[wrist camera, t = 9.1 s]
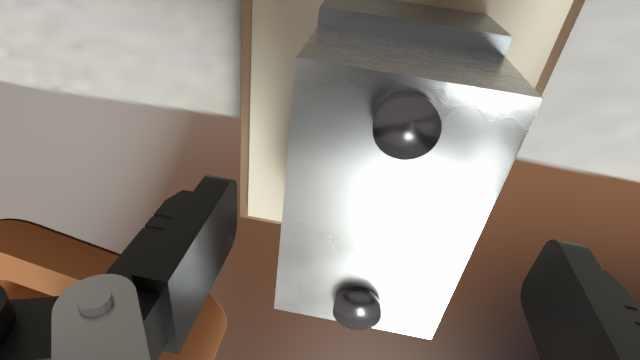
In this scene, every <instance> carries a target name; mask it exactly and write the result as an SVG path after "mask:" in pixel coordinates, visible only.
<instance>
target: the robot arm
mask: <svg viewBox="0 0 640 360" xmlns="http://www.w3.org/2000/svg"><path fill="white" fill-rule="evenodd" d="M236 185H237V184H236V181H235V180H232V179H226V178H221V177H216V176H210V175H206V176H205V177H204V178H203V179H202V180H201V182H200V183H199V184H198V186H197V187H196V188H195V190H194V191H193V192H191V191H186V190H182V191H180V192H179V193H177V194H175V195H174V196H172V197H170V198H169V199H167V200H165V202H164V203H163V204H162V205H161V206H160V208H159V209H158V210H157V211H156V212H155V214H154V217H151V219H150V220H149V221H148V222H147V223H146V225H145V228H142V230H141V231H140V232H139V233H138V234H137V236H136V237H135V238H134V239H133V240H132V242H131V243H130V244H129V245H128V246H127V248H126V249H125V250H124V251H123V253H122V254H121V255H120V256H119V257H118V259H117V260H116V261H115V262H114V263H113V265H112V266H111V267H110V268H109V269H108V271H107V272H106V273H105V274H100V275H95V276H91V277H88V278H85V279H83V280H80V281H78V282H77V283H75V284H73V285H72V286H70V287H69V288H67V289H66V290H65V291H64V292H63V293H62V294H61V295H60V296H54V297H41V298H27V299H13V300H10V299H9V297H8V295H7V293H6V291H5V290H4V288H3V287H2V286H1V285H0V360H158V359H159V357H160V356H161V354H162V352H163V351H164V352H169V353H174V354H178V355H179V353H180V351H181V348H182V346H183V344H184V342H185V340H186V338H187V336H188V334H189V332H190V330H191V328H192V326H193V324H194V322H195V320H196V318H197V316H198V314H199V312H200V310H201V308H202V306H203V304H204V302H205V300H206V298H207V296H208V294H209V292H210V290H211V288H212V286H213V284H214V282H215V280H216V278H217V276H218V274H219V272H220V270H221V268H222V266H223V264H224V262H225V260H226V258H227V256H228V254H229V252H230V250H231V248H232V245H233V243H234V239H235V235H236V230H237V186H236ZM521 305H522V308H523V311H524V314H525V317H526V320H527V323H528V326H529V329H530V332H531V335H532V337H533V341H534V343H535V346H536V349H537V352H538V355H539V358H540V360H640V312H638V307H637V305H636V304H635V302H634V301H633V299H632V298H631V296H630V295H629V293H628V291H627V290H626V288H624V287H623V286H622V285H621V284H620V283H619V282H618V281H617V280H616V279H615V278H614V277H613V276H612V275H610V274H609V273H608V272H607V271H606V270H602V269H601V267H600V265H599V264H598V262H597V260H596V259H595V257H594V255H593V254H592V252H591V251H590V249H589V248H588V247H587V246H585V245H579V244H574V243H569V242H563V241H557V240H550V241H548V242H547V243H546V244H545V246H544V247H543V249H542V250H541V252H540V254H539V256H538V257H537V259H536V261H535V262H534V264H533V266H532V267H531V269H530V271H529V273H528V274H527V276H526V278H525V279H524V282H523V284H522V287H521Z"/></svg>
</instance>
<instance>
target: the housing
mask: <svg viewBox="0 0 640 360" xmlns="http://www.w3.org/2000/svg"><path fill="white" fill-rule="evenodd" d="M511 39H512V36H511V35H510V34H509V33H508V32H507V31H505V30H504V29H503V28H502V27H501V26H500V25H499V24H498V23H496V22H495V21H494V20H493V19H492V18H491V17H490V16H488V15H487V14H481V13H475V12H468V11H462V10H455V9H449V8H443V7H436V6H430V5H423V4H417V3H411V2H404V1H398V0H324V1H323V3H322V4H321V5H320V8H319V16H318V25H317V27H316V29H315V30H314V32H313V33H312V35H311V36H310V38H309V39H308V41H307V42H306V44H305V45H304V47H303V48H302V49H301V51H300V52H299V54H298V55H297V57H296V65H295V77H294V88H293V99H292V111H291V122H290V134H289V145H288V156H287V168H286V179H285V190H284V202H283V213H282V226H281V237H280V247H279V259H278V270H277V282H276V293H275V304H274V309H279V310H284V311H290V312H295V313H299V314H305V315H309V316H314V317H319V318H325V319H330V320H335V321H337V322H339V323H340V324H341V325H343V326H345V327H347V328H351V329H357V330H360V329H361V330H362V329H368V328H375V329H380V330H385V331H390V332H395V333H401V334H406V335H410V336H415V337H420V338H425V339H430V340H431V339H432V337H433V335H434V333H435V330H436V328H437V326H438V324H439V322H440V319H441V317H442V315H443V313H444V311H445V309H446V307H447V304H448V302H449V300H450V298H451V296H452V294H453V292H454V289H455V287H456V285H457V283H458V281H459V279H460V276H461V274H462V272H463V270H464V268H465V266H466V263H467V261H468V259H469V257H470V255H471V253H472V250H473V248H474V246H475V244H476V242H477V240H478V238H479V235H480V233H481V231H482V229H483V227H484V225H485V222H486V220H487V218H488V216H489V214H490V212H491V209H492V207H493V205H494V203H495V201H496V199H497V196H498V194H499V192H500V190H501V188H502V186H503V184H504V181H505V179H506V177H507V175H508V173H509V171H510V168H511V166H512V164H513V162H514V160H515V158H516V156H517V153H518V151H519V149H520V147H521V145H522V143H523V141H524V138H525V136H526V134H527V132H528V130H529V128H530V125H531V123H532V121H533V119H534V117H535V115H536V112H537V110H538V108H539V106H540V104H541V102H542V100H543V98H542V96H541V95H540V94H539V93H538V92H537V91H536V90H535V89H534V88H533V87H532V85H531V84H530V83H529V82H528V81H527V80H526V79H525V78H524V77H523V76H522V74H521V73H520V72H519V71H518V70H517V69H516V68H515V67H514V66H513V64H512V63H511V62H510V61H509V60H508V59H507V58H506V57H505V55H506V53H507V50H508V47H509V45H510V42H511Z"/></svg>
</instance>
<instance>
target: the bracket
mask: <svg viewBox="0 0 640 360" xmlns="http://www.w3.org/2000/svg"><path fill="white" fill-rule="evenodd" d="M120 255H121V254H119V253H116V252H114V251H111V250H108V249H105V248H103V247H100V246H97V245H94V244H92V243H89V242H86V241H84V240H81V239H78V238H75V237H73V236H70V235H67V234H64V233H62V232H59V231H56V230H54V229H51V228H48V227H45V226H42V225H40V224H37V223H34V222H31V221H27V220H22V219H14V218H7V219H0V285H1V286H2V287H3V288H4V290H5V291H6V293H7V295H8V297H9V299H10V300H13V299H27V298H41V297H54V296H60V295H61V294H62V293H63V292H64V291H65V290H66V289H67V288H69V287H70V286H72V285H73V284H75V283H77V282H78V281H80V280H83V279H85V278H88V277H91V276H95V275H100V274H105V273H106V272H107V271H108V269H109V268H110V267H111V266H112V265H113V263H114V262H115V261H116V260H117V259H118V257H119V256H120ZM226 327H227V319H226V315H225V312H224V310H223V308H222V306H221V305H220V303H219V302H218V301H217V300H216V299H215V297H214V296H213V295H212V294H210V293H209V294H208V296H207V298H206V300H205V302H204V304H203V306H202V308H201V310H200V312H199V314H198V316H197V318H196V320H195V322H194V324H193V326H192V328H191V330H190V332H189V334H188V336H187V338H186V340H185V342H184V344H183V346H182V348H181V351H180V353H179V355H178V354H174V353H169V352H164V351H163V352H162V354H161V356H160V357H159V359H158V360H214V357H215V355H216V352H217V350H218V347H219V345H220V342H221V339H222V337H223V335H224V332H225V329H226Z"/></svg>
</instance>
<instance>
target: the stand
mask: <svg viewBox="0 0 640 360" xmlns="http://www.w3.org/2000/svg"><path fill="white" fill-rule="evenodd" d="M323 1H324V0H242V32H241V161H240V163H241V164H240V166H241V167H240V217H244V218H250V219H255V220H261V221H266V222H271V223H276V224H282V213H283V202H284V190H285V179H286V168H287V156H288V145H289V134H290V122H291V111H292V99H293V88H294V77H295V65H296V57H297V55H298V54H299V52H300V51H301V49H302V48H303V47H304V45H305V44H306V42H307V41H308V39H309V38H310V36H311V35H312V33H313V32H314V30H315V29H316V27H317V25H318V16H319V8H320V5H321V4H322V3H323ZM398 1H404V2H411V3H417V4H423V5H430V6H436V7H443V8H449V9H455V10H462V11H468V12H475V13H481V14H487V15H488V16H490V17H491V18H492V19H493V20H494V21H495V22H496V23H498V24H499V25H500V26H501V27H502V28H503V29H504V30H505V31H507V32H508V33H509V34H510V35H511V36H512V39H511V42H510V45H509V47H508V50H507V53H506V55H505V57H506V58H507V59H508V60H509V61H510V62H511V63H512V64H513V66H514V67H515V68H516V69H517V70H518V71H519V72H520V73H521V74H522V76H523V77H524V78H525V79H526V80H527V81H528V82H529V83H530V84H531V85H532V87H533V88H534V89H535V90H536V91H537V92H538V93H539V94H540V95H541V96H542V94H543V91H544V89H545V87H546V85H547V83H548V80H549V78H550V76H551V74H552V72H553V69H554V67H555V65H556V63H557V61H558V59H559V56H560V54H561V52H562V50H563V48H564V45H565V43H566V41H567V39H568V37H569V34H570V32H571V30H572V28H573V26H574V23H575V21H576V19H577V17H578V15H579V13H580V10H581V8H582V6H583V4H584V2H585V0H398Z"/></svg>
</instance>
